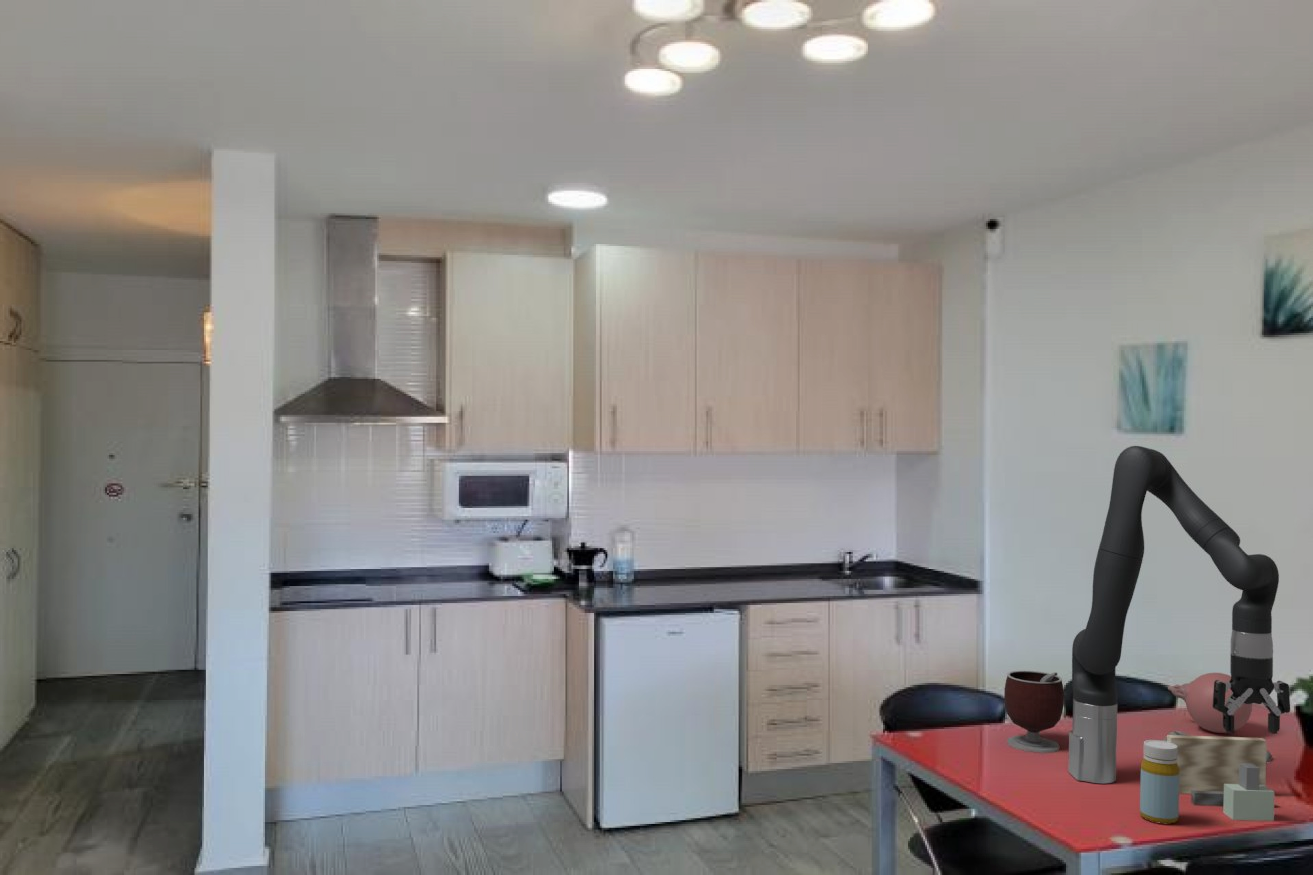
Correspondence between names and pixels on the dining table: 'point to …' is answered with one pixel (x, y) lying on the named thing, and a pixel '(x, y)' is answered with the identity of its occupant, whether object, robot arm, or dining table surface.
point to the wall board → (1215, 764)
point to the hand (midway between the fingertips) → (1251, 732)
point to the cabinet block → (1248, 797)
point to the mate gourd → (1034, 707)
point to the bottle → (1159, 782)
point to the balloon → (1209, 702)
